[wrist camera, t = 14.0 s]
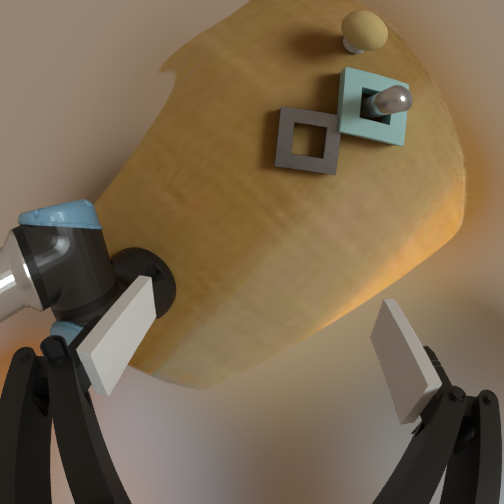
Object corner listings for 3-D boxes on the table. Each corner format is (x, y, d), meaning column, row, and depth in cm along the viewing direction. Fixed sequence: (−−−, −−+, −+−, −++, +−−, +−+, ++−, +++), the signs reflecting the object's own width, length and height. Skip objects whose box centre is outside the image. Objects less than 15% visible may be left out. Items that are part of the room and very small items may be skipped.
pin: (358, 115, 37) (386, 107, 25) (359, 97, 35) (388, 81, 23) (377, 120, 36) (411, 114, 24) (378, 101, 35) (413, 89, 23)
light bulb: (379, 49, 31) (402, 30, 22) (354, 69, 34) (373, 51, 24) (351, 22, 30) (367, -3, 21) (325, 41, 32) (336, 16, 23)
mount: (275, 164, 41) (274, 166, 39) (281, 108, 38) (281, 106, 35) (332, 173, 41) (335, 175, 38) (339, 117, 37) (342, 116, 35)
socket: (334, 132, 38) (339, 131, 34) (340, 73, 34) (345, 66, 30) (393, 145, 37) (403, 146, 34) (399, 88, 33) (408, 84, 30)
